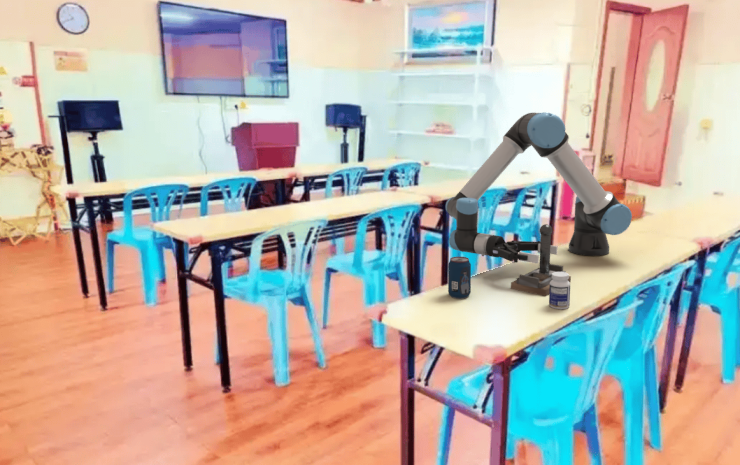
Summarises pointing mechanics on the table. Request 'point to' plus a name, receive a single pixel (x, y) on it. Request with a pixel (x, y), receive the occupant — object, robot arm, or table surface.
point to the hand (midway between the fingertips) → (547, 254)
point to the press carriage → (544, 253)
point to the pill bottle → (559, 291)
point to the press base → (535, 282)
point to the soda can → (459, 277)
